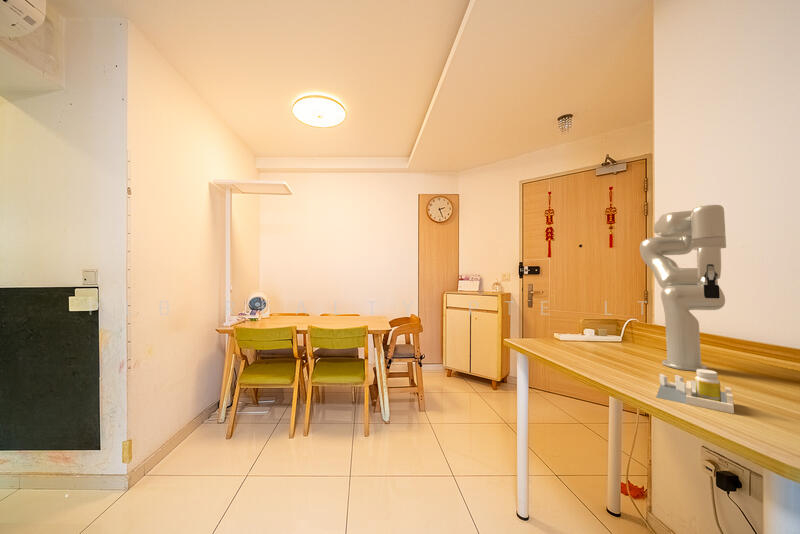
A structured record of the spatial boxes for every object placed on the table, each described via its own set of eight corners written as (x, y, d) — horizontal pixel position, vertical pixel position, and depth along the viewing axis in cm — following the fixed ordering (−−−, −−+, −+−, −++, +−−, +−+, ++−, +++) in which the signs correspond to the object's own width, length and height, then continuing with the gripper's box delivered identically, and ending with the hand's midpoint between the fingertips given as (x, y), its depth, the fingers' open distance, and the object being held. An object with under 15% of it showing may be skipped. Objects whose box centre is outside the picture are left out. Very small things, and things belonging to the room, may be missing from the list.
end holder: (687, 394, 86) (686, 380, 86) (731, 402, 80) (730, 387, 80) (686, 403, 80) (685, 388, 80) (734, 413, 73) (733, 397, 74)
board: (661, 383, 97) (661, 381, 97) (727, 395, 87) (727, 392, 87) (656, 399, 84) (656, 397, 84) (732, 415, 74) (732, 413, 74)
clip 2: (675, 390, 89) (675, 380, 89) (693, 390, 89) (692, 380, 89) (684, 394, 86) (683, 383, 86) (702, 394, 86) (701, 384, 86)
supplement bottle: (726, 406, 77) (724, 374, 78) (705, 405, 78) (703, 373, 79) (711, 399, 82) (709, 368, 83) (691, 398, 83) (689, 368, 83)
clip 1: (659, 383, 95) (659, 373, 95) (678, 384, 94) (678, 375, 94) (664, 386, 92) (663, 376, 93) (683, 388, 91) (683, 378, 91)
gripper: (692, 247, 104) (695, 295, 103) (691, 243, 91) (694, 298, 91) (724, 245, 98) (727, 296, 97) (727, 240, 86) (731, 299, 85)
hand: (711, 297), depth 94 cm, fingers open, 9 cm apart
